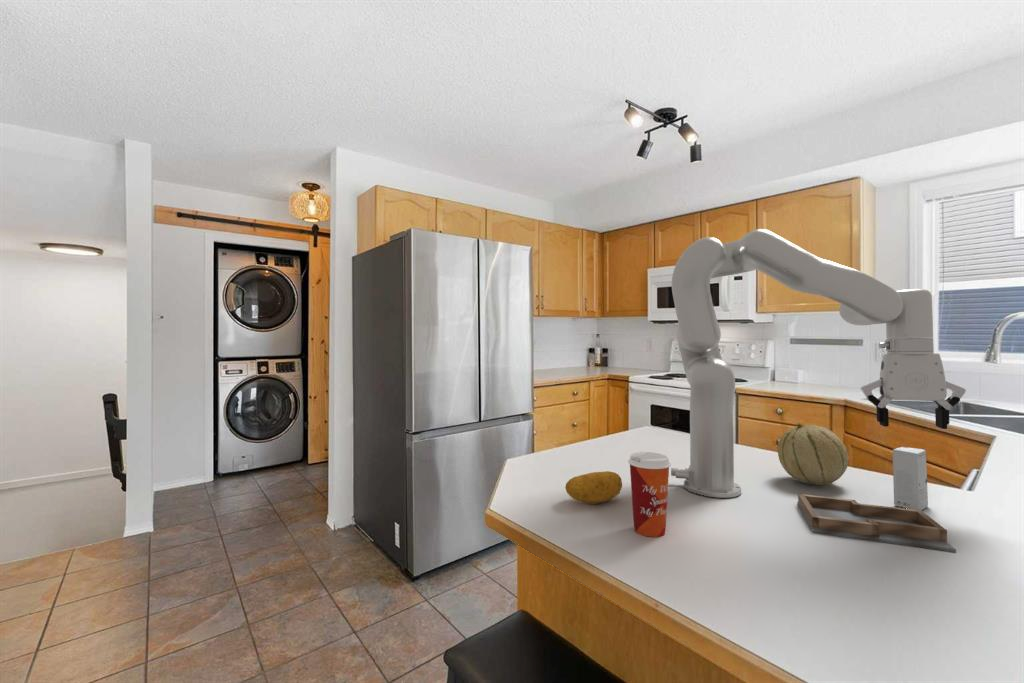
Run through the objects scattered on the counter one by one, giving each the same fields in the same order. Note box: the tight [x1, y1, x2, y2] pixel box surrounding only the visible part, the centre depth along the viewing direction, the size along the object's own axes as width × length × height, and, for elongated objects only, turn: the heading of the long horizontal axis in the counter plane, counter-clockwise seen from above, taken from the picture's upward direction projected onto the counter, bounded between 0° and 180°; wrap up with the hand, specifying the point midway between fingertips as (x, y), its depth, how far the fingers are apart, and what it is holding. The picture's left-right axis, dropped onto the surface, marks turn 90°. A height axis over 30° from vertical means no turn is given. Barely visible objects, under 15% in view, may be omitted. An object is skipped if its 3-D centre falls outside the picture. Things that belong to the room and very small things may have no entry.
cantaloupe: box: [777, 422, 850, 486], centre depth 111 cm, size 15×15×15 cm
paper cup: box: [627, 451, 672, 538], centre depth 83 cm, size 8×8×14 cm
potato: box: [564, 471, 623, 505], centre depth 98 cm, size 8×14×7 cm, turn 110°
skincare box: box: [892, 446, 929, 511], centre depth 95 cm, size 6×4×12 cm
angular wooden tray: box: [797, 493, 957, 553], centre depth 85 cm, size 20×16×2 cm
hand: (912, 426), depth 95 cm, fingers open, 9 cm apart
